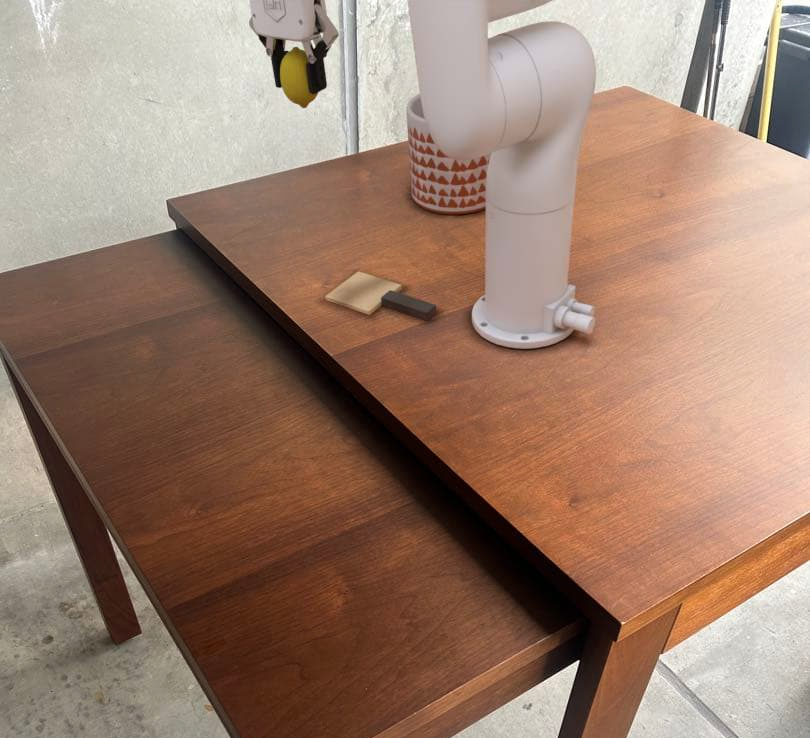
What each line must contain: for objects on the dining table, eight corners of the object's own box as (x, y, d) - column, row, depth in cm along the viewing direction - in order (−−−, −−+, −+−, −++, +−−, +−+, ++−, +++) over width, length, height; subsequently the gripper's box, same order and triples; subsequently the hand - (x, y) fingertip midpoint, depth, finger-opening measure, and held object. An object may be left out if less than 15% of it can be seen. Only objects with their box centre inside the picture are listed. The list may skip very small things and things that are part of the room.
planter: (490, 220, 121) (492, 127, 112) (398, 211, 125) (392, 119, 115) (514, 177, 130) (517, 87, 121) (427, 169, 133) (424, 81, 124)
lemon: (317, 115, 122) (309, 53, 117) (280, 115, 123) (270, 54, 118) (327, 100, 126) (319, 40, 120) (291, 101, 127) (282, 40, 121)
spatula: (447, 303, 107) (447, 295, 106) (415, 331, 104) (415, 322, 103) (358, 274, 113) (357, 266, 112) (325, 300, 110) (324, 291, 109)
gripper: (209, -62, 112) (239, 88, 125) (311, -53, 104) (332, 105, 117) (249, -75, 116) (273, 71, 129) (349, -68, 108) (365, 87, 121)
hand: (301, 86), depth 123 cm, fingers closed on lemon, 5 cm apart
